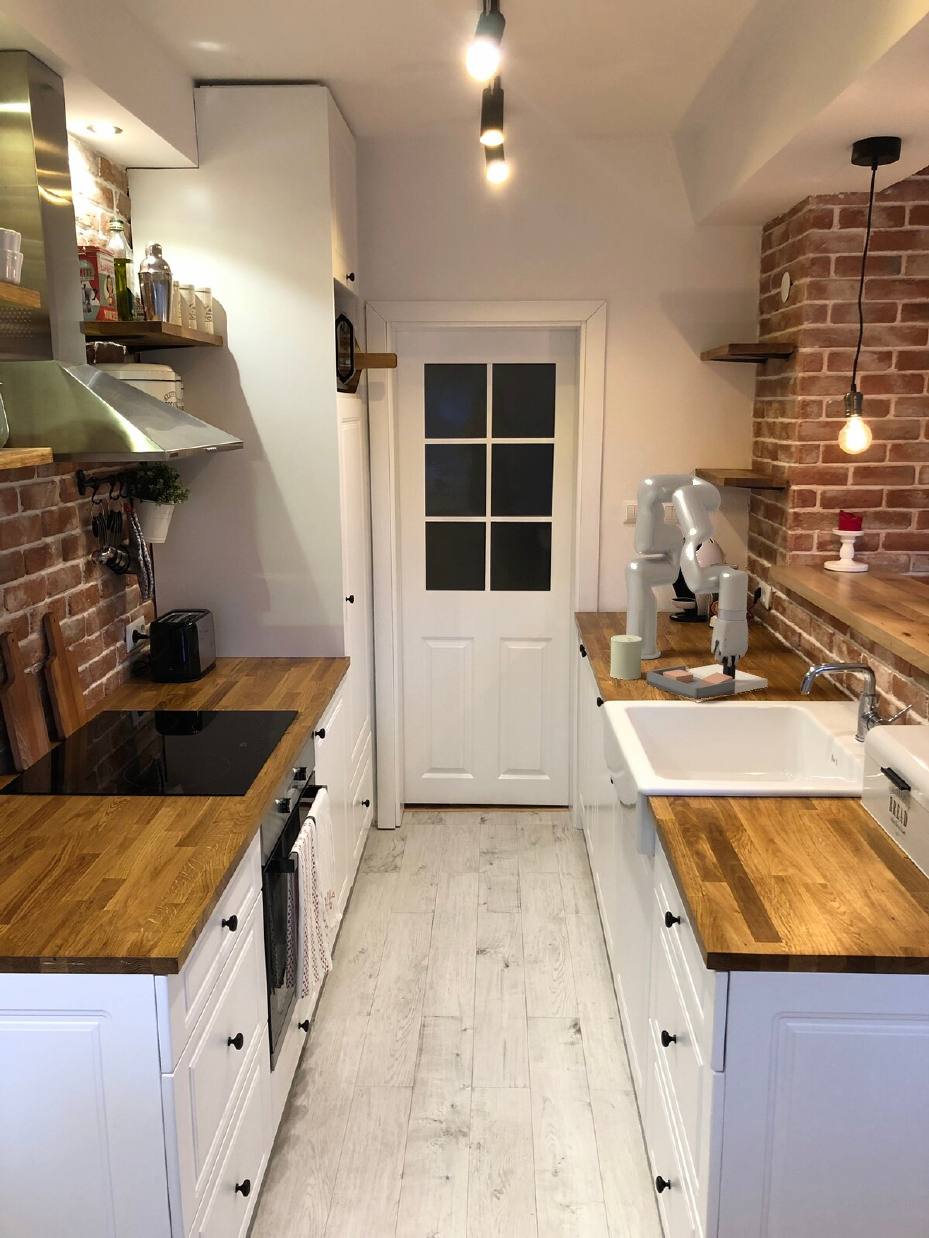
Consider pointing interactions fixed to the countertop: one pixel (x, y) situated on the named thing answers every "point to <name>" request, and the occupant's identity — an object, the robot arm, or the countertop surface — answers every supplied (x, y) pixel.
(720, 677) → the tile
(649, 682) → the tray
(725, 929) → the countertop surface
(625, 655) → the can
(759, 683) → the plate
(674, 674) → the tile
